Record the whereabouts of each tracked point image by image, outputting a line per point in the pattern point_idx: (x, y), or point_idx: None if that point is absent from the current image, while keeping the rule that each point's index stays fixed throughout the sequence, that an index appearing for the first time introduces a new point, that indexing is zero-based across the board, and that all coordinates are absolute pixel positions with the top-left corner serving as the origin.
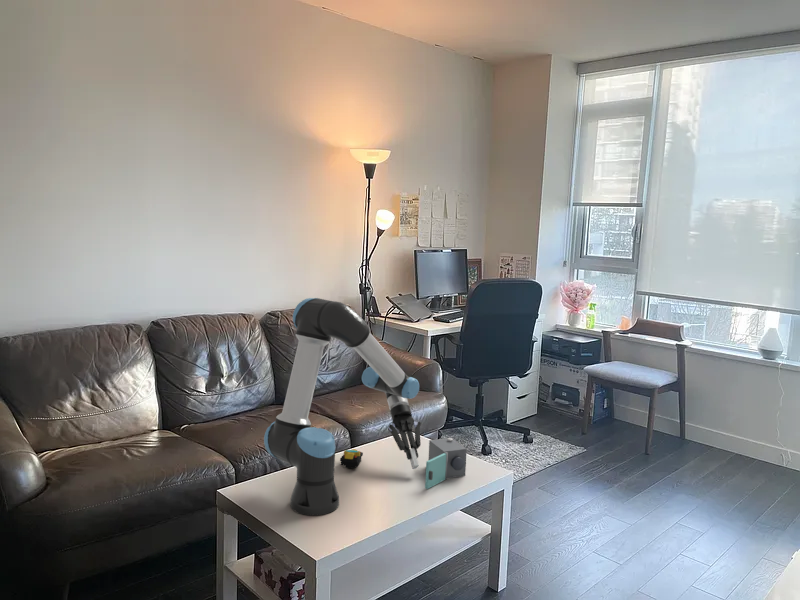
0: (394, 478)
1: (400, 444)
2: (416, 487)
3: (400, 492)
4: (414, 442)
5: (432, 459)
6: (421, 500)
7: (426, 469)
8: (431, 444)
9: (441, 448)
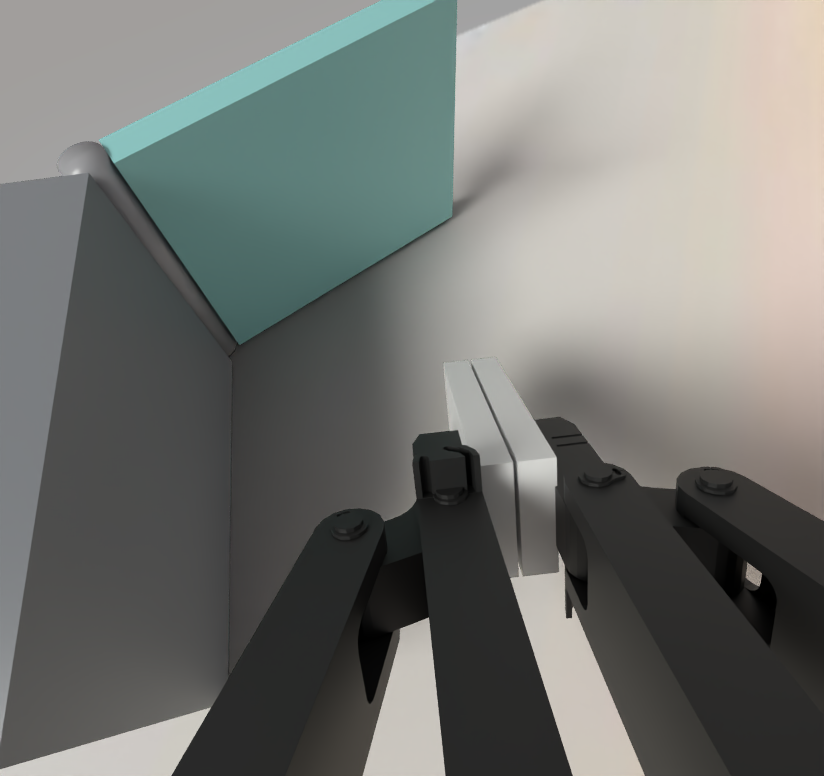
0: (678, 446)
1: (790, 506)
2: (511, 254)
3: (655, 200)
4: (443, 552)
5: (362, 25)
6: (527, 92)
7: (451, 75)
8: (53, 635)
9: (51, 279)
